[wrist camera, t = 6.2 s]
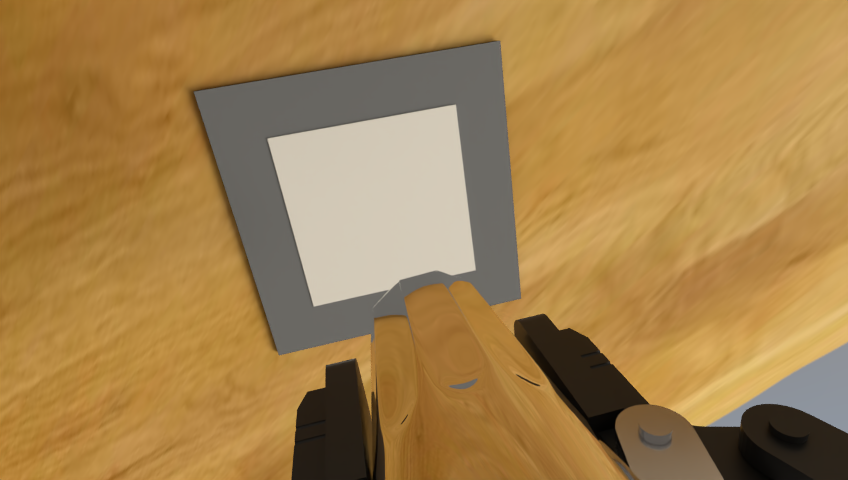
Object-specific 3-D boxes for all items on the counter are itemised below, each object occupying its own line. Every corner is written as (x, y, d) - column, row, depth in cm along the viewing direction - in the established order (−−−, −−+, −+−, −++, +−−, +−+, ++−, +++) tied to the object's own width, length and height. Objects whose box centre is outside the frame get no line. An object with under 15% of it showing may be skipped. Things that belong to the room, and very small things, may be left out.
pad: (498, 41, 23) (500, 40, 22) (519, 296, 28) (521, 299, 28) (195, 91, 21) (193, 91, 21) (279, 352, 26) (279, 356, 26)
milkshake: (339, 414, 14) (357, 1115, 5) (350, 242, 12) (417, 838, 3) (487, 409, 15) (745, 985, 6) (518, 249, 13) (972, 714, 4)
